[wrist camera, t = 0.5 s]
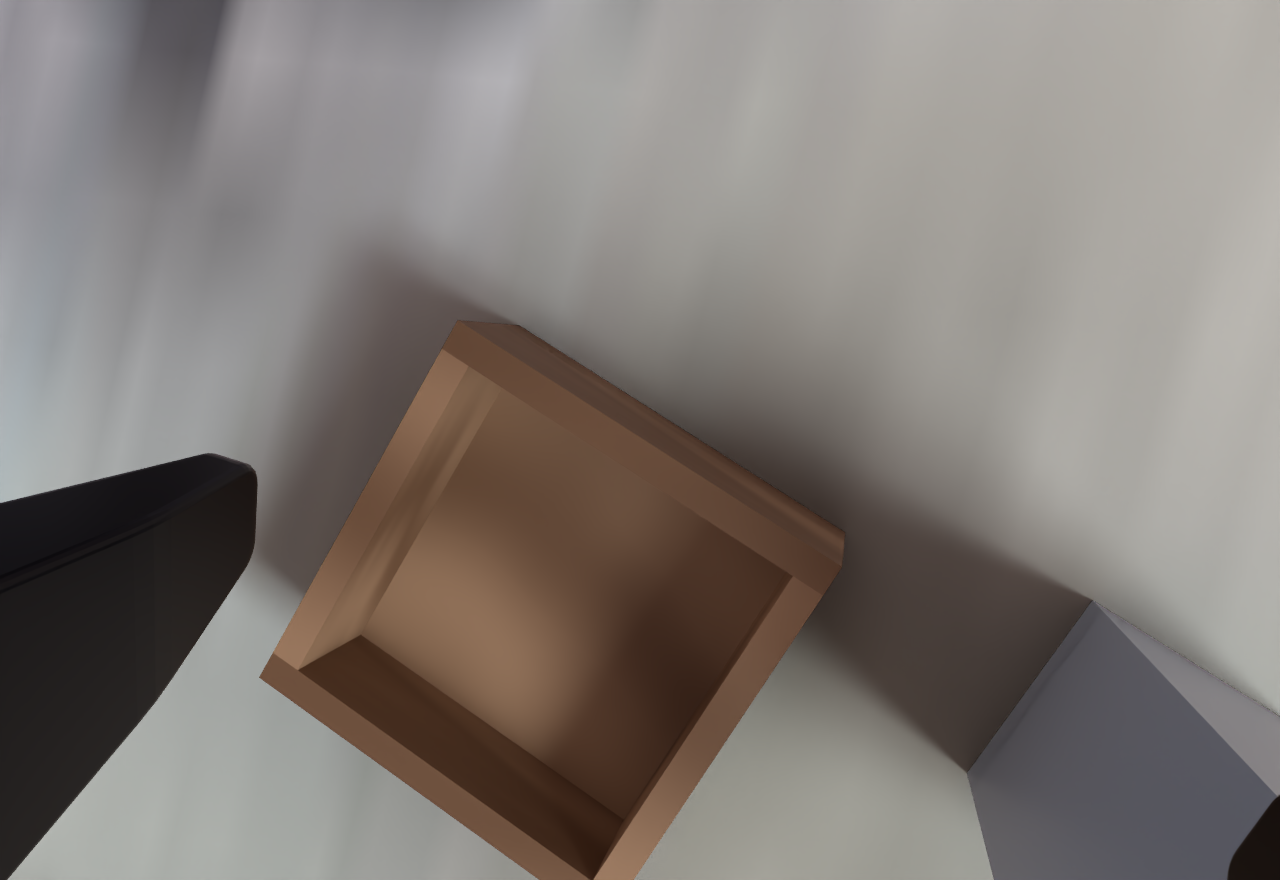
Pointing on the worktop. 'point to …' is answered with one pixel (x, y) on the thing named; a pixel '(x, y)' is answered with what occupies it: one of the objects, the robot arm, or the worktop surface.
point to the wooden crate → (551, 606)
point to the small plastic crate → (1124, 765)
